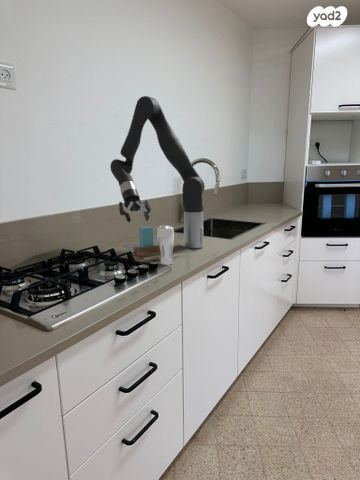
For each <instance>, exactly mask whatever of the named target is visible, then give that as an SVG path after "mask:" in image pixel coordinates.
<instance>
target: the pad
mask: <svg viewBox="0 0 360 480" xmlns="http://www.w3.org/2000/svg"><path fill="white" fill-rule="evenodd" d="M133 246H137V247H139V248H140V243H133V244H125V245H122V247H123V248H125V249H127V250H128V251H133Z"/></svg>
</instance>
